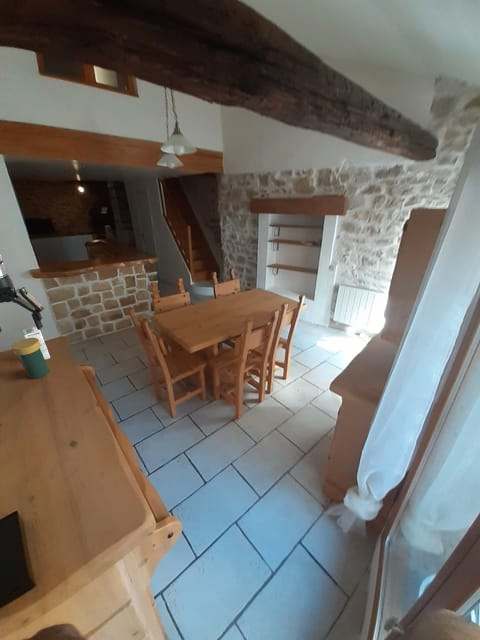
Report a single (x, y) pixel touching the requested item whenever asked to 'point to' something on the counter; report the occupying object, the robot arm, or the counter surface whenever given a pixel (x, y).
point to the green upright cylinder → (34, 364)
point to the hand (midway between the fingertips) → (20, 330)
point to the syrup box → (37, 334)
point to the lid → (26, 346)
